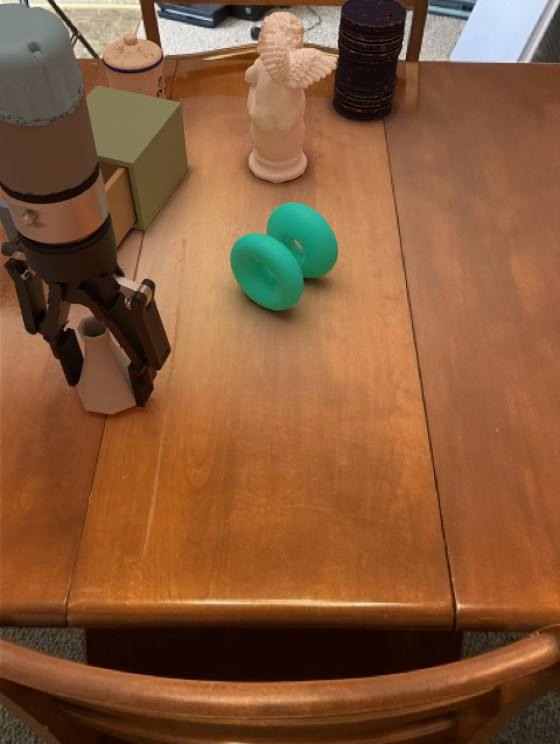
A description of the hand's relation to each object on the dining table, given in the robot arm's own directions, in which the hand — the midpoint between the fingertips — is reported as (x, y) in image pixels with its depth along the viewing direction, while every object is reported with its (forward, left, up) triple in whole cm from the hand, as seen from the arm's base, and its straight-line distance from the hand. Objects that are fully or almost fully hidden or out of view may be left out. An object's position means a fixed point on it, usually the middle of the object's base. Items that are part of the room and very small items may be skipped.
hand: (111, 386), depth 73 cm
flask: (0, 0, -1) cm, 1 cm away
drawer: (-15, +19, 0) cm, 24 cm away
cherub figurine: (+5, +45, -2) cm, 45 cm away
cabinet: (-15, +33, -1) cm, 36 cm away
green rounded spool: (+12, +22, -2) cm, 25 cm away
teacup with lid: (-23, +54, -2) cm, 59 cm away
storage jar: (+11, +66, -2) cm, 67 cm away
